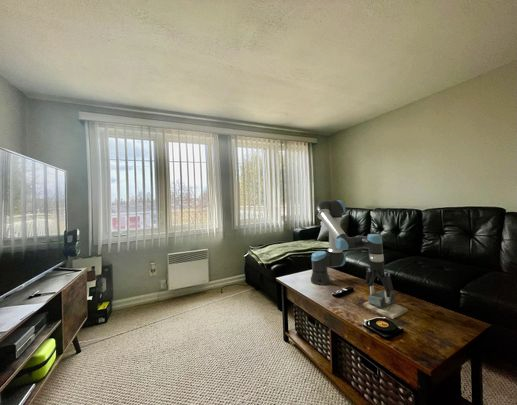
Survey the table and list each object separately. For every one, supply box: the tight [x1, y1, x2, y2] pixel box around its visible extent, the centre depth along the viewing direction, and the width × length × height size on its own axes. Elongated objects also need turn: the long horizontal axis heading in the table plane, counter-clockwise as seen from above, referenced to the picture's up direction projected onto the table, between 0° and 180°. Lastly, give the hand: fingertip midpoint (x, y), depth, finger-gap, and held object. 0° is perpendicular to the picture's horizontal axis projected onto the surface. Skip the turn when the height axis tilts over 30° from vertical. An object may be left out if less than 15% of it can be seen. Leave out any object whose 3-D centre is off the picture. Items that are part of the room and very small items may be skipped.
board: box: [362, 301, 409, 320], centre depth 119 cm, size 17×14×2 cm
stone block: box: [367, 289, 397, 308], centre depth 122 cm, size 9×14×5 cm, turn 116°
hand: (379, 299), depth 122 cm, fingers open, 8 cm apart
